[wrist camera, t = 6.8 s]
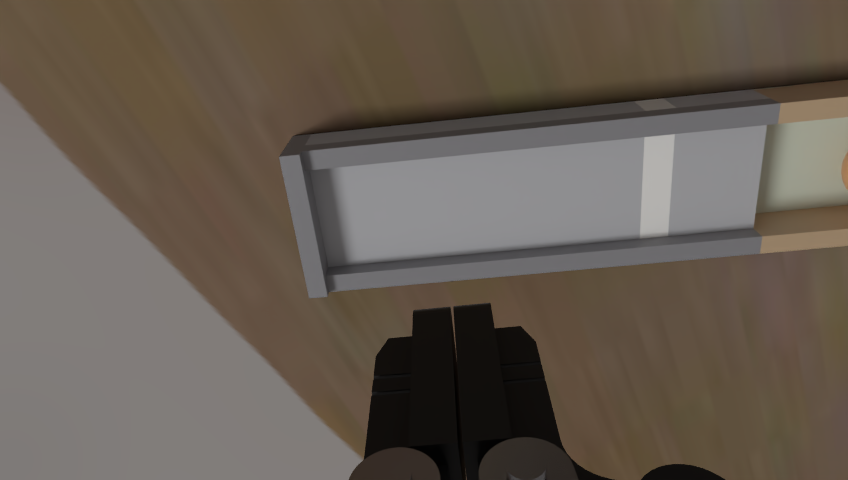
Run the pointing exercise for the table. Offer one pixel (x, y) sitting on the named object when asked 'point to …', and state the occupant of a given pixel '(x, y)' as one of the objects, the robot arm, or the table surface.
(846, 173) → the ball
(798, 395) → the table surface
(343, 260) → the lane
